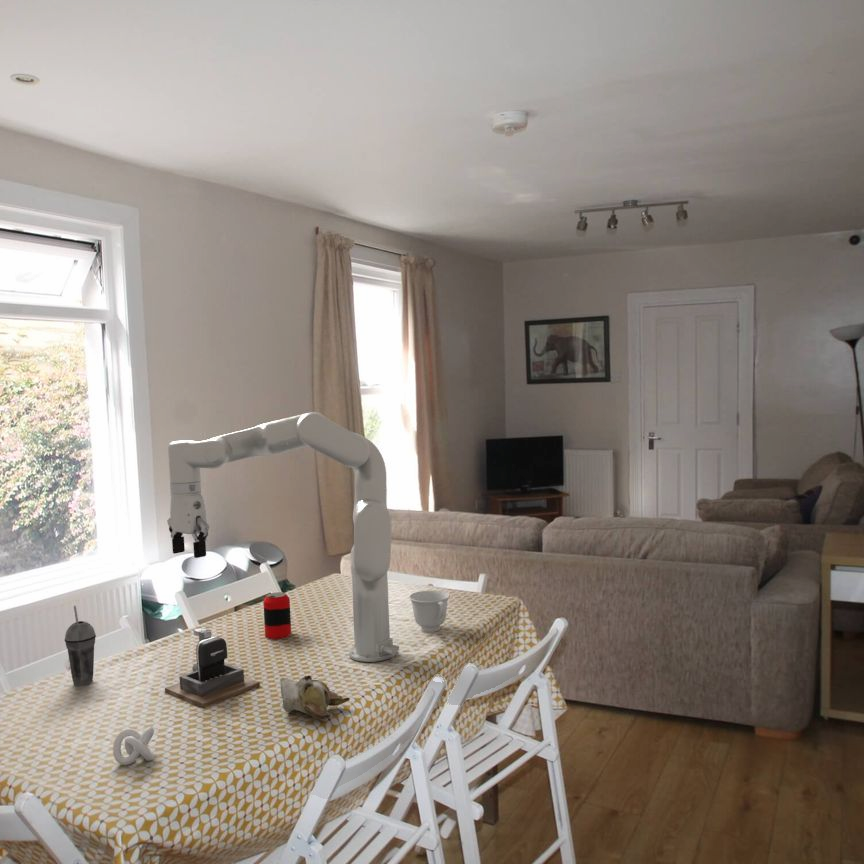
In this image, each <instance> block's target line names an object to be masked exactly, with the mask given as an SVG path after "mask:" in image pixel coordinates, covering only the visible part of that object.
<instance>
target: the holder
mask: <svg viewBox="0 0 864 864" xmlns="http://www.w3.org/2000/svg"><path fill="white" fill-rule="evenodd" d="M224 670H225V674H224V675H222V676H219V677H216V678H213V679H210V680H207V681H205V682H200V681H198V670H197V671H194V672H193V671H191V672H188V673H186V674H183V675H180V676H179V682H178V683H175V684H173V685H172V684H171V685H170V686H167V687H165V688H164V692H165V693H166V694H169V695H171V696H173V697H176V698H178V699H181V700H183V701H185V702H188V703H191V704H192V705H196V706H198V707H200V708H207V707H210V706H211V705H214V704H216V703H219V702H222V701H224V700H227V699H230V698H232V697H235V696H237V695H240V694H243V693H245V692H248V691H250V690H252V689H256V688H258V687H260V685H261V684H260V683H261V682H260V681H258V680H256V679H253V678H249V677H247V676H245V672H244V668H240V667H237V666H235V665H232V664H229V663H227V662H224Z"/></svg>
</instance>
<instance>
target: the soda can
mask: <svg viewBox="0 0 864 864" xmlns="http://www.w3.org/2000/svg"><path fill="white" fill-rule="evenodd" d="M262 603H263V618H264V619H263V624H264V636H265V637H266V638H267V639H270V640H280V639H286V638H287V636H288V637H289V636H290V635H291V634H292V622H291V620H292V619H291V617H292V616H291V602H290V597H289V596H288V594H287V593H286V592H281V591H280V592H278V591H277V592H270V593H268V594H266V595H265V597H264V599H263V602H262Z"/></svg>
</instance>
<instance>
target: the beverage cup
mask: <svg viewBox="0 0 864 864" xmlns="http://www.w3.org/2000/svg"><path fill="white" fill-rule="evenodd" d="M73 611H74V618H75V622H74V623H72V624H71V625H69V627H68V628H67V629H66V631H65V636H64V642H65V647H66V649H67V653H68V660H69V667H70V673H71V679H72V683H73V686H75V687H83V686H87V685H90V684H92V683H93V681H94V680H93V679H94V667H95V666H94V665H95V663H94V661H95V659H94V657H95V655H94V654H95V643H96V637H97V635H96V632H95V628H94V627H93V626H92V625H91V623H89V622H87V621H83V620H79V618H78V612H77V606H76V605H73Z"/></svg>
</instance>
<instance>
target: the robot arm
mask: <svg viewBox="0 0 864 864" xmlns="http://www.w3.org/2000/svg"><path fill="white" fill-rule="evenodd" d="M306 447H309V448H311V449H312V450H314V451H316V452H318V453H320V454H322V455H324V456H325V457H327V458H330V459H331V460H333V461H335V462H337V463H339V464H341V465H343V466H345V467H347V468H352V471H353V474H354V500H353V501H354V502H353V513H352V521H353V546H352V548H351V550H350V570H351V571H350V572H351V587H352V588H351V589H352V591H351V592H352V610H353V611H352V612H353V613H352V615H353V616H352V617H353V639H354V646H353V647H351V648H350V649H349V651H348V654H349V656H348V657H349V658H351V659H352V660H353V661H354V660H355V661H358V662H361V663H362V662H363V663H374V662H375V663H376V662H382V661H386V660H389V659H391V658H393V657H394V656H396V654H398V653H397V652H398V651H399V650H400V646H399V645H396V644H394V643H393V638H392V637H391V633H390V611H389V586H388V585H389V584H388V571H389V569H390V566H391V556H392V554H391V553H392V517H391V513H390V511H389V508H388V505H387V504H388V503H387V500H388V499H387V496H388V495H387V494H388V493H387V492H388V491H387V490H388V489H387V467H386V463H385V461H384V457H383V456H382V455H383V454H382V453H381V451H380V450H379V448H378V447H377V446H376V445H375V444H374V443H373V442H372V441H371V440H369V439H368V438H367V437H366V436H363V435H362V434H360V433H357V432H355V431H354V432H353V431H351V430H349V429H347V428H345V427H344V426H341V425H340V424H338V423H336V422H334V421H333V420H332V419H329V418H328V417H326V416H325V415H324V414H322V413H320V412H317V411H310V412H306V413H302V414H298V415H294V416H289V417H285V418H282V419H277V420H273V421H270V422H265V423H261V424H258V425H256V426H254V427H253V426H252V427H251V428H247V429H243V430H239V431H234V432H231V433H227V434H226V433H225V434H223V435H219V436H214V437H211V438H210V439H209V438H208V439H206V440H201V441H196V440H191V439H190V440H189V439H186V440H185V439H184V440H183V439H182V440H175V441H174V440H173V441H171V442H170V443H169V444H168V450H167V451H168V455H167V456H168V467H169V468H168V469H169V470H168V471H169V489H170V514H169V515H170V517H169V518H168V519H167V520H166V521H167V525H168V531H169V533H170V538H171V545H172V547H171V548H172V554H175V555H176V554H180V553H184V552H185V549H186V548H185V536H183V534H186V535H191V536H192V538H193V540H194V542H193V557H194V559H198V558H204V557H206V556H207V546H206V544H207V543H206V541H207V539H208V536H209V529H210V524H209V523H208V521H207V514H206V513H207V512H206V505H205V500H204V495H203V493H202V482H201V481H202V480H201V469H210V470H211V469H213V470H215V469H219V468H221V467H224V465H226V464H228V463H233V462H236V461H240V460H243V459H248V458H253V457H270V456H275V455H279V454H283V453H286V452H291V451H294V450H295V451H296V450H298V449H302V448H306Z"/></svg>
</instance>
